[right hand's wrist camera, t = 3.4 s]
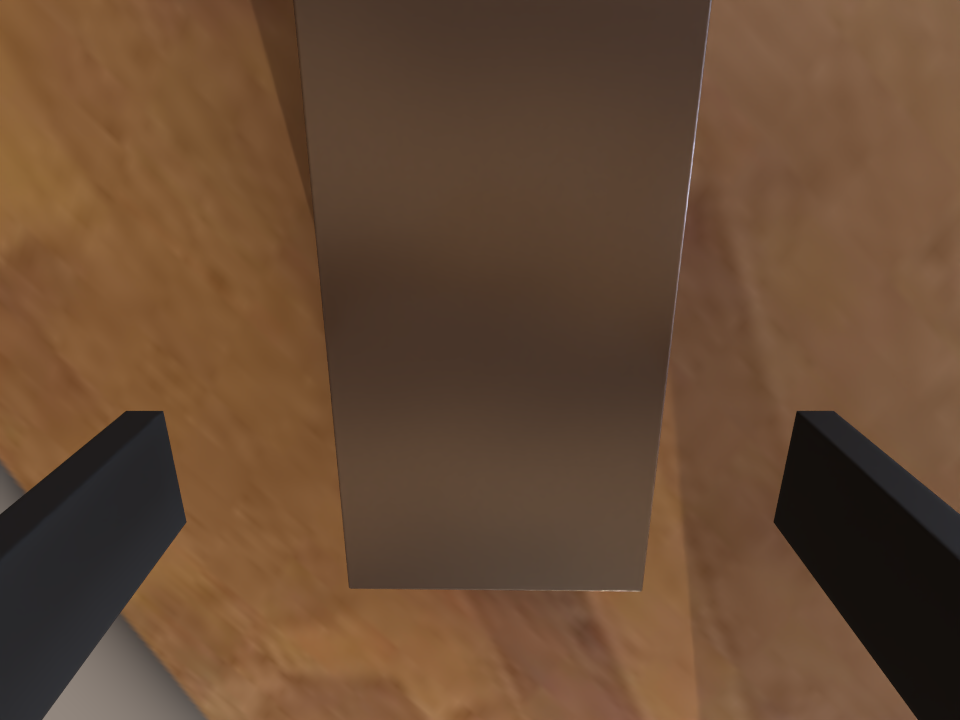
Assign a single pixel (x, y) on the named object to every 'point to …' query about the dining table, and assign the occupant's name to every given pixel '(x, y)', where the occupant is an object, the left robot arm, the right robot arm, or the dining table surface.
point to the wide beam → (499, 277)
